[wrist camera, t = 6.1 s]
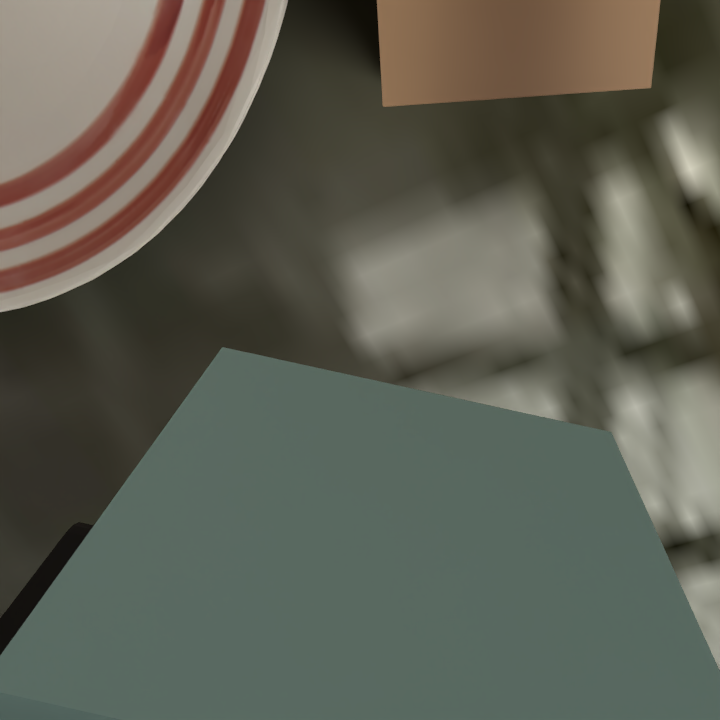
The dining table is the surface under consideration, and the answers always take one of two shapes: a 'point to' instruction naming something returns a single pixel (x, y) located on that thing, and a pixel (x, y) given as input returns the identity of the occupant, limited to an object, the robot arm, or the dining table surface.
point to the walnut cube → (513, 48)
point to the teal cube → (363, 569)
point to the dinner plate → (114, 125)
